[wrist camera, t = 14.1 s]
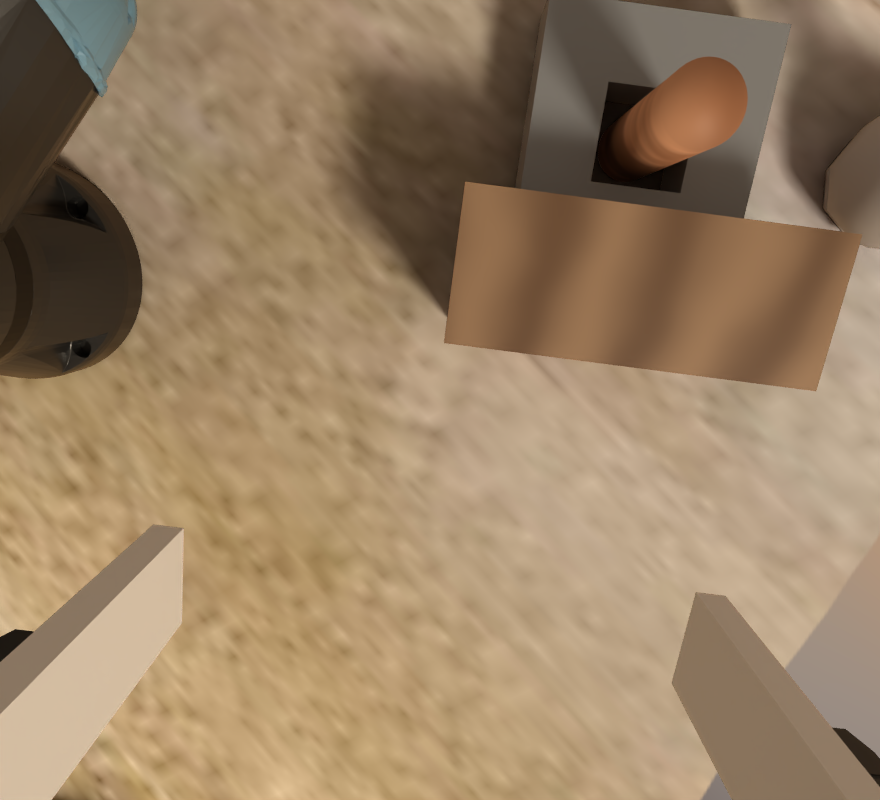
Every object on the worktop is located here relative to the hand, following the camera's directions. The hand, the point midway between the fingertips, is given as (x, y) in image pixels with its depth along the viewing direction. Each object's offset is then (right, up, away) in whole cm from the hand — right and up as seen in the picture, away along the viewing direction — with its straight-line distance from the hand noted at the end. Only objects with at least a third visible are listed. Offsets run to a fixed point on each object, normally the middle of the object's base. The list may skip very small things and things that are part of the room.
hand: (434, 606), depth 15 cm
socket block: (+13, +22, +24) cm, 35 cm away
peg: (+13, +22, +24) cm, 35 cm away
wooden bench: (+11, +14, +26) cm, 31 cm away
